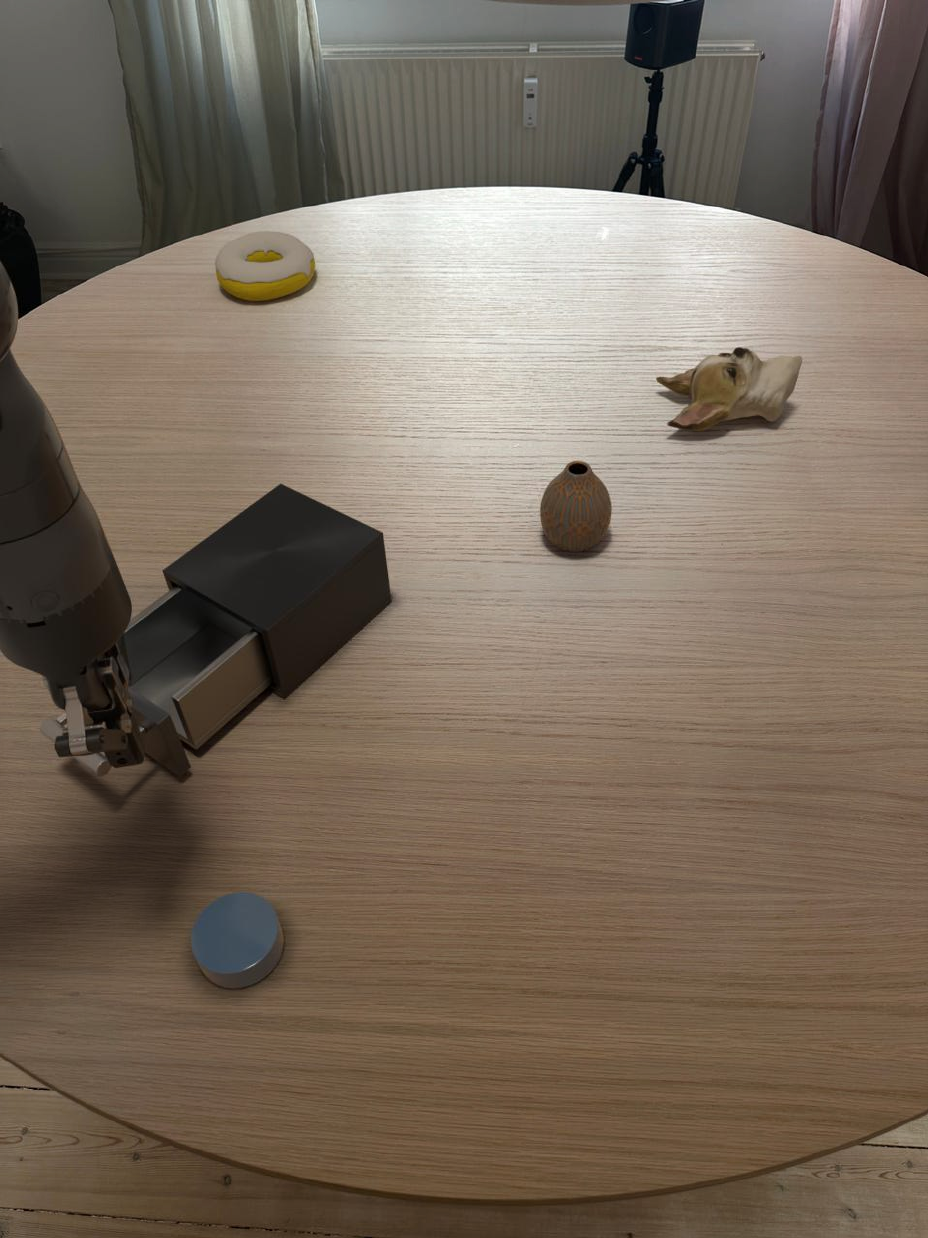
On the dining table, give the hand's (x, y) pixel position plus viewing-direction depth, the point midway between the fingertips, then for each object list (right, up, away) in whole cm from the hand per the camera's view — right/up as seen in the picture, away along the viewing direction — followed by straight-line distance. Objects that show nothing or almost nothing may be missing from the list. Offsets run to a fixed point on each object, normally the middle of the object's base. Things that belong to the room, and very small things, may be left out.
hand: (129, 757), depth 66 cm
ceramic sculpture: (+52, +32, +47) cm, 77 cm away
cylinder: (+7, -14, +4) cm, 16 cm away
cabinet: (+6, +9, +26) cm, 28 cm away
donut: (-5, +57, +73) cm, 93 cm away
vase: (+33, +17, +33) cm, 50 cm away
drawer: (-2, +1, +18) cm, 18 cm away
